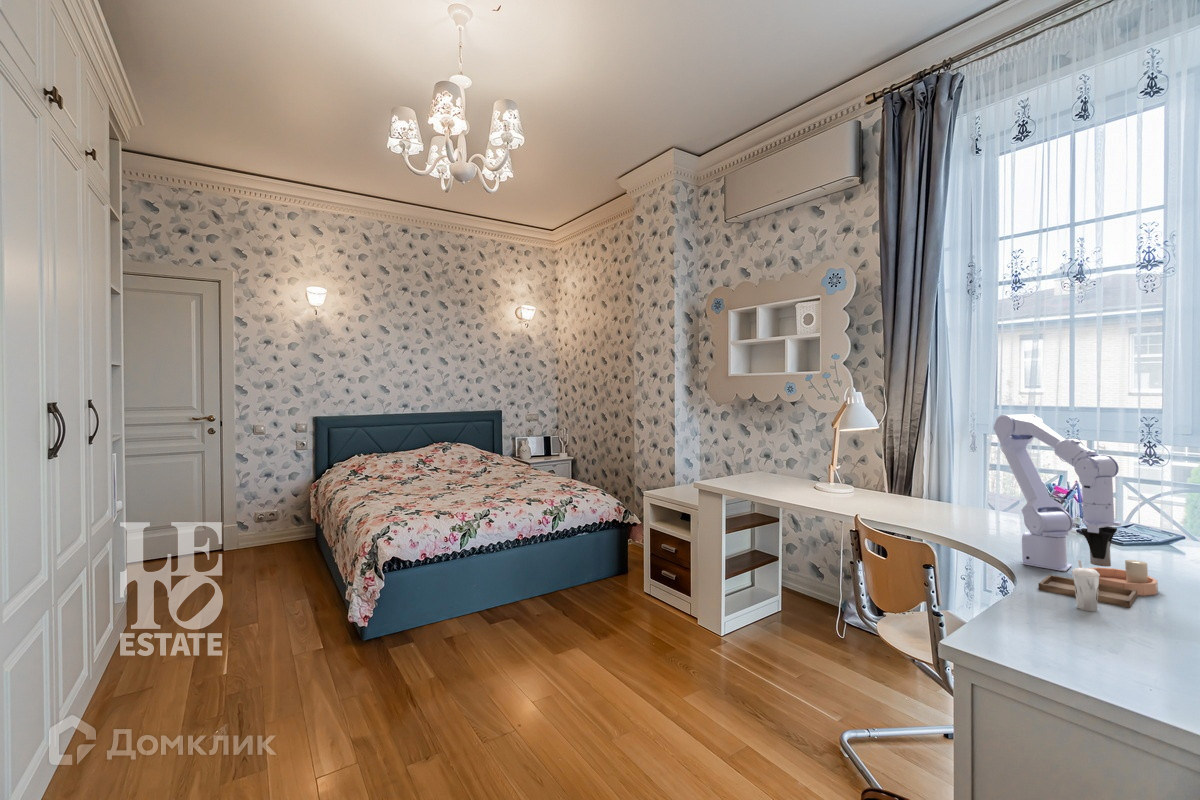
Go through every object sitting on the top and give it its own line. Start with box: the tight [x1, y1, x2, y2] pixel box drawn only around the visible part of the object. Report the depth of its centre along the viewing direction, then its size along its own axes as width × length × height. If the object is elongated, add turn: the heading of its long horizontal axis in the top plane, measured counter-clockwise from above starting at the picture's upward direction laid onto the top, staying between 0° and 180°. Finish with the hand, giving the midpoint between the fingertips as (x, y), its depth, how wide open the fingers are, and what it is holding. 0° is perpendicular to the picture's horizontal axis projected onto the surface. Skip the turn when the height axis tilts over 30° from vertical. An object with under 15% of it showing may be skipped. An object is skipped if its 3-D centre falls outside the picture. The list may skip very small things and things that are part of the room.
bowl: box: [1088, 566, 1159, 597], centre depth 130 cm, size 13×13×3 cm
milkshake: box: [1071, 559, 1100, 613], centre depth 117 cm, size 4×5×10 cm
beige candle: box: [1124, 559, 1149, 584], centre depth 128 cm, size 4×4×6 cm
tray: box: [1038, 574, 1138, 609], centre depth 126 cm, size 16×10×2 cm, turn 37°
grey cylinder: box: [1089, 541, 1112, 568], centre depth 133 cm, size 4×4×6 cm
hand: (1100, 556), depth 133 cm, fingers closed on grey cylinder, 4 cm apart
